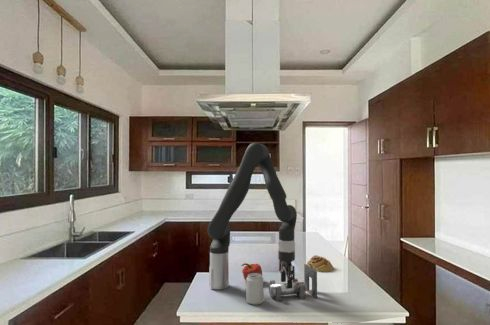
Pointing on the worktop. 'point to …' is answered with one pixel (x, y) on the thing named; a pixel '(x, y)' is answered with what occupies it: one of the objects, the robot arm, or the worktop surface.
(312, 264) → the pastry
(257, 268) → the vegetable
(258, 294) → the can
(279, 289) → the grey metal blocks
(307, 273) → the frame
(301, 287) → the grey u-shaped bracket
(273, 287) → the tube
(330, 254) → the worktop surface
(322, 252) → the worktop surface
